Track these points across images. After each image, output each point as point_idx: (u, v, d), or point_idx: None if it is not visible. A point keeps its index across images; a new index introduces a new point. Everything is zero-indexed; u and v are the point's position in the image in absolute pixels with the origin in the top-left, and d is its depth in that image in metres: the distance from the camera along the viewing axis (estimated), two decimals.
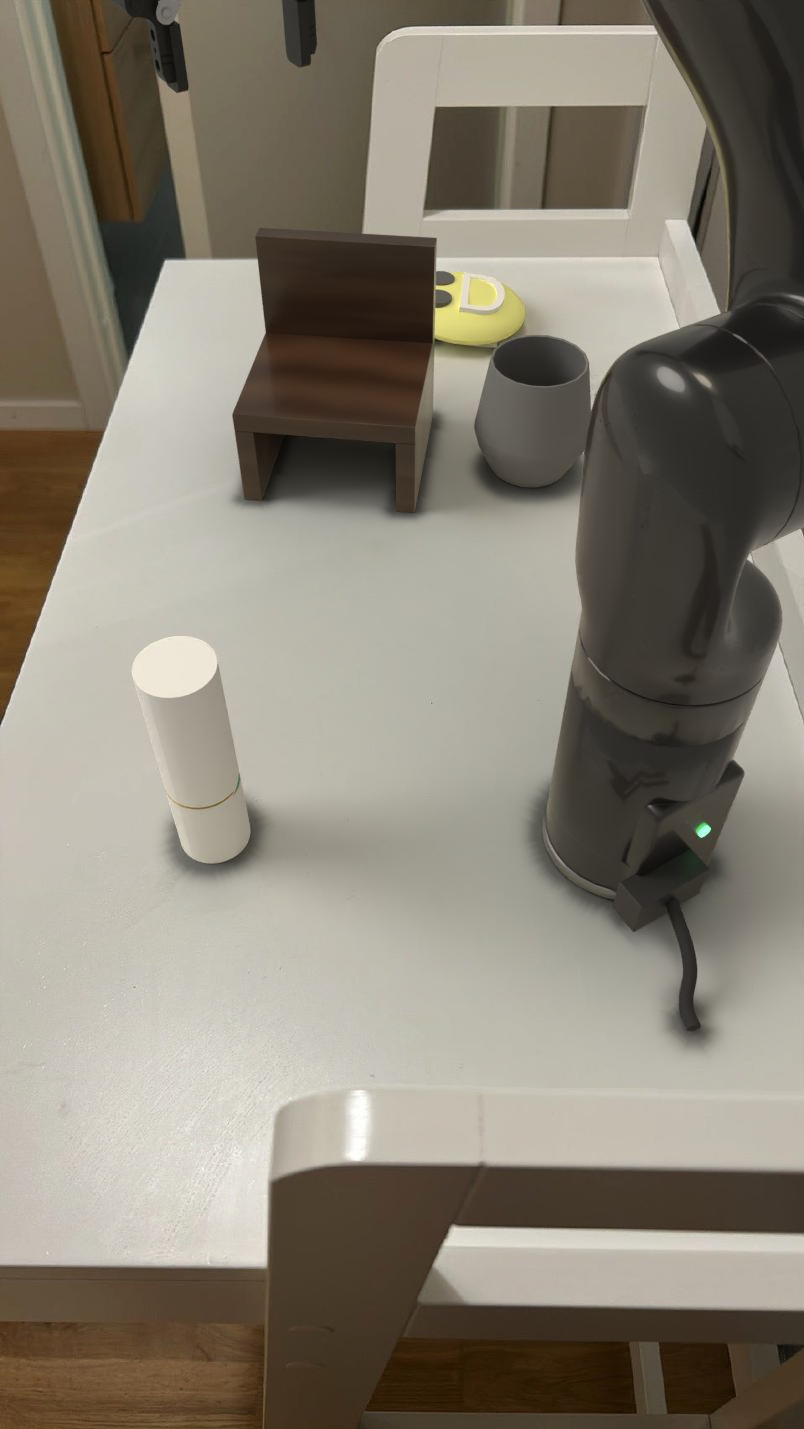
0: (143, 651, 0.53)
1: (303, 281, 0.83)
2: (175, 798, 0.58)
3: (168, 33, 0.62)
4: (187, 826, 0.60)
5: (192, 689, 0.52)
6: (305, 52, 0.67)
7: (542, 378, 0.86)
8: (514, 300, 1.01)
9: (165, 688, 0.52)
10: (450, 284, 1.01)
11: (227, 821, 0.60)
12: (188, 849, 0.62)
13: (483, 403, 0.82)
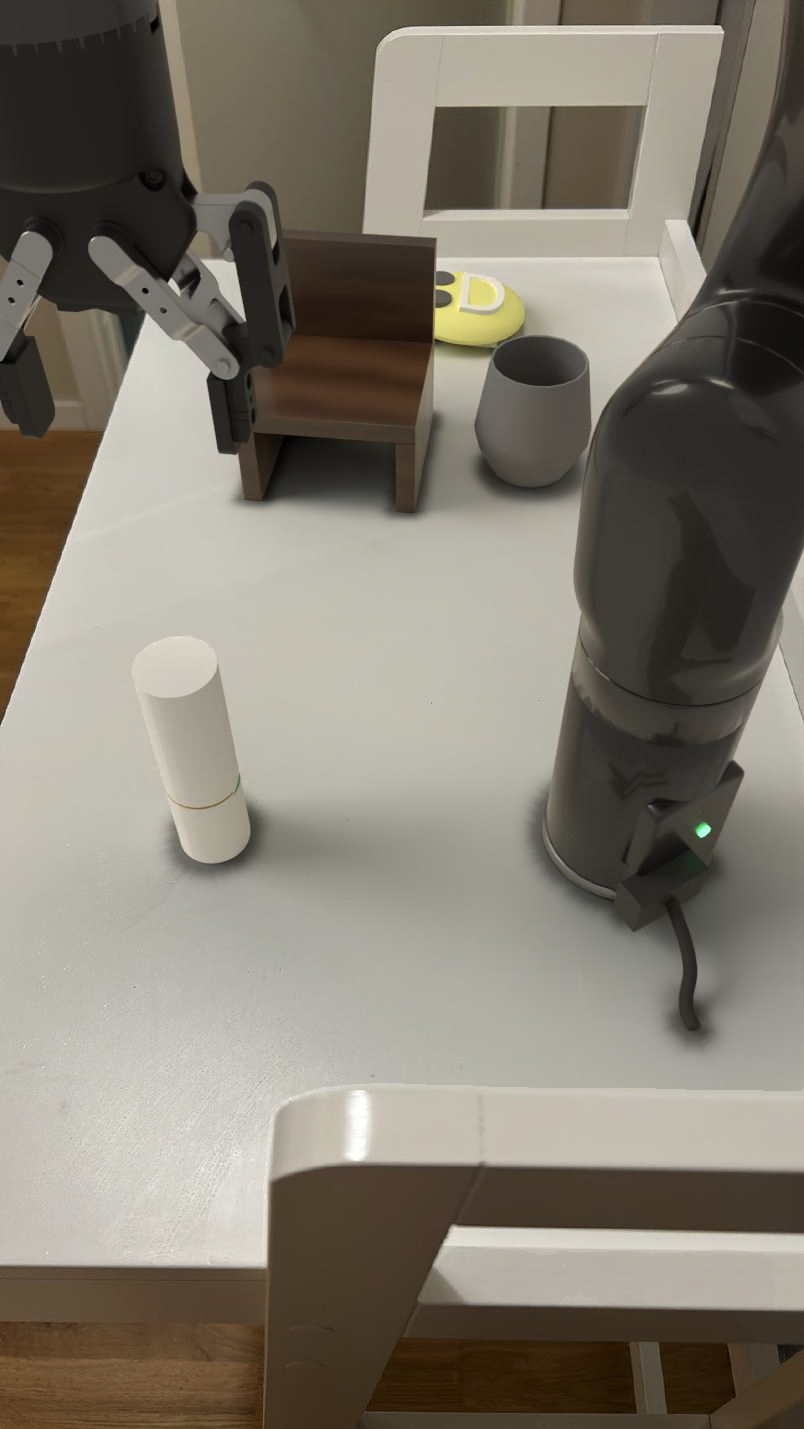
0: (143, 651, 0.53)
1: (303, 281, 0.83)
2: (175, 798, 0.58)
3: None
4: (187, 826, 0.60)
5: (192, 689, 0.52)
6: (223, 440, 0.43)
7: (542, 378, 0.86)
8: (514, 300, 1.01)
9: (165, 688, 0.52)
10: (450, 284, 1.01)
11: (227, 821, 0.60)
12: (188, 849, 0.62)
13: (483, 403, 0.82)
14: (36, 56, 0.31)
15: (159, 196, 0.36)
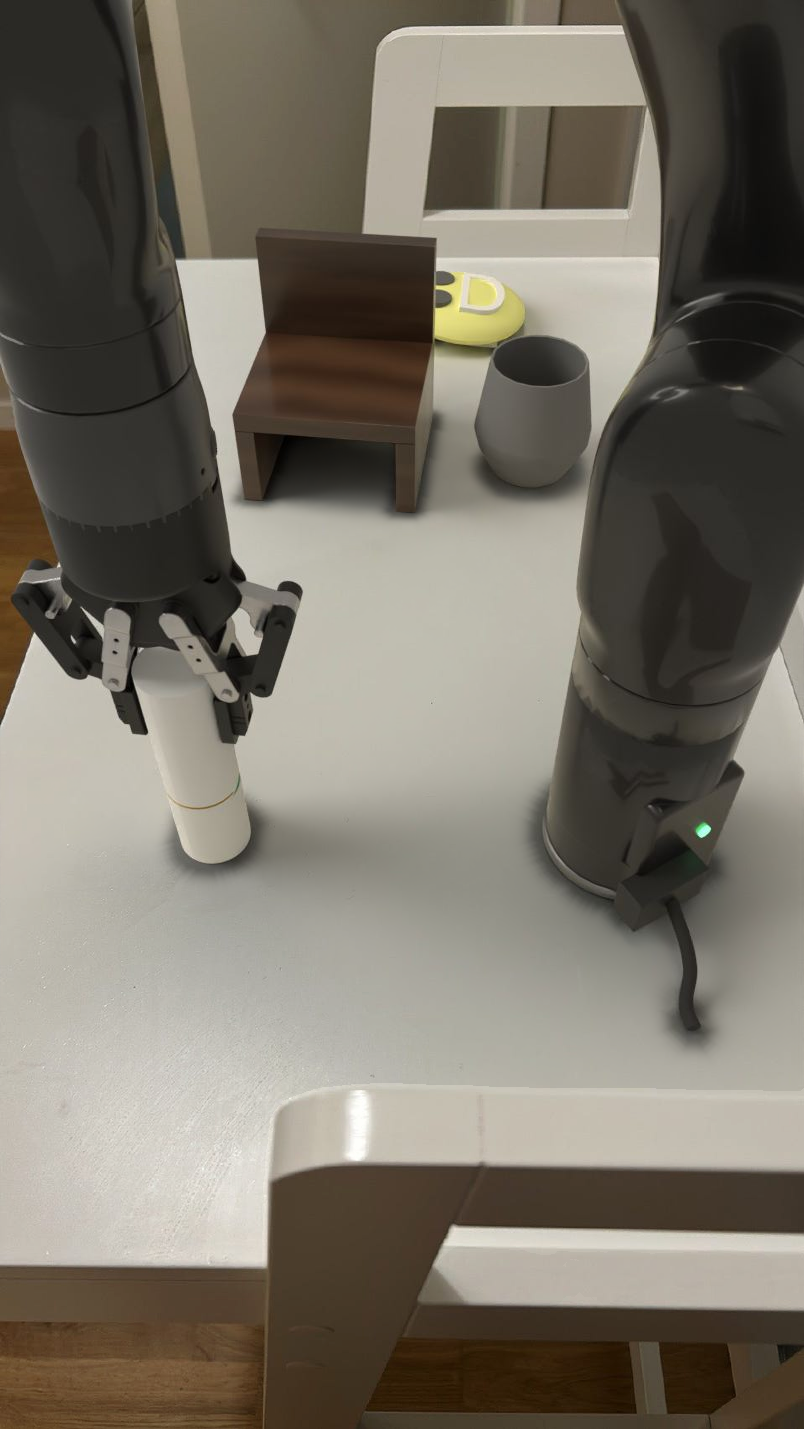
0: (143, 651, 0.53)
1: (303, 281, 0.83)
2: (175, 798, 0.58)
3: None
4: (187, 826, 0.60)
5: (192, 689, 0.52)
6: (226, 736, 0.55)
7: (542, 378, 0.86)
8: (514, 300, 1.01)
9: (165, 688, 0.52)
10: (450, 284, 1.01)
11: (227, 821, 0.60)
12: (188, 850, 0.62)
13: (483, 403, 0.82)
14: (130, 531, 0.41)
15: (214, 586, 0.47)
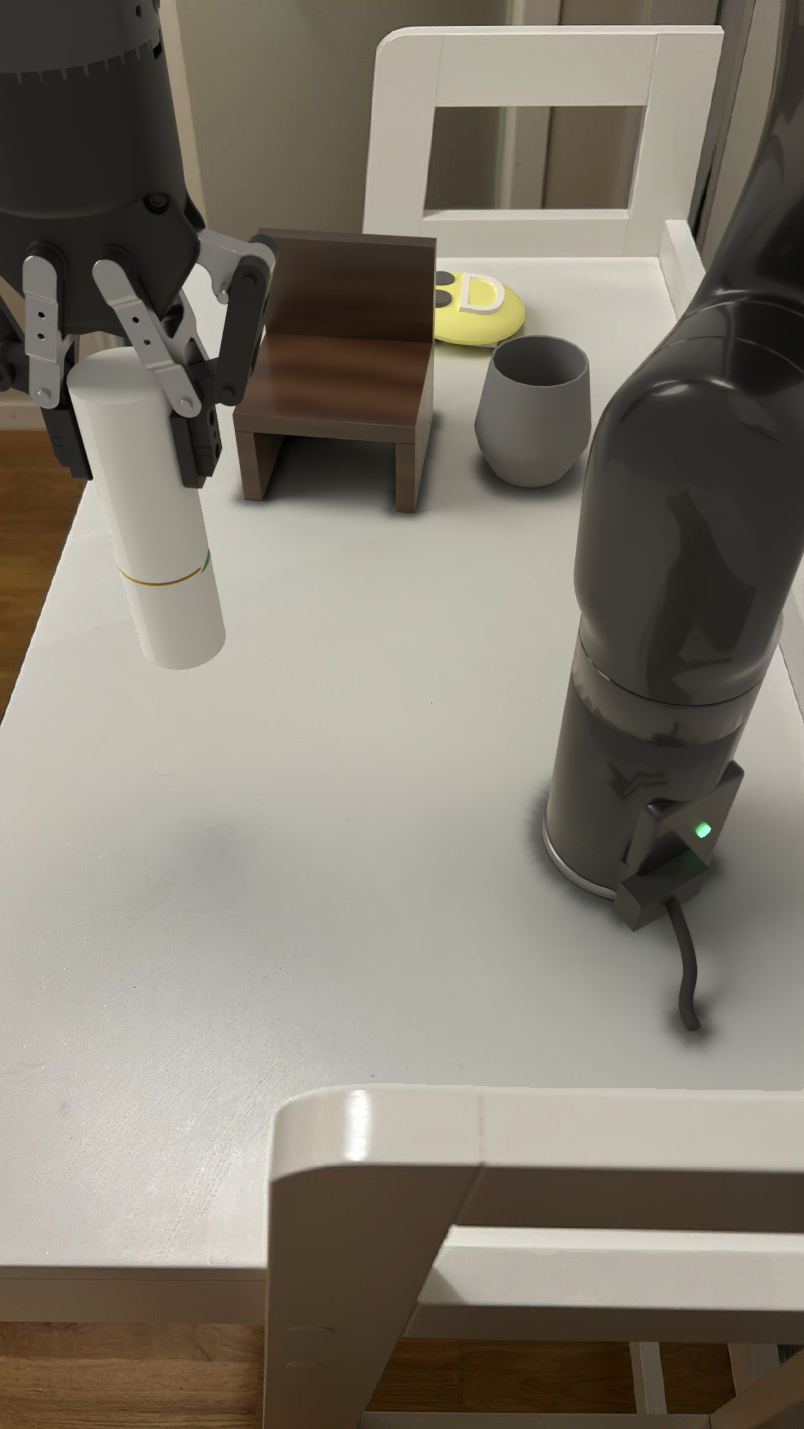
0: (82, 361, 0.43)
1: (303, 281, 0.83)
2: (130, 571, 0.47)
3: None
4: (146, 614, 0.49)
5: (142, 396, 0.41)
6: (188, 474, 0.44)
7: (542, 378, 0.86)
8: (514, 300, 1.01)
9: (108, 395, 0.41)
10: (450, 284, 1.01)
11: (195, 608, 0.49)
12: (149, 652, 0.52)
13: (483, 403, 0.82)
14: (40, 83, 0.31)
15: (163, 219, 0.36)
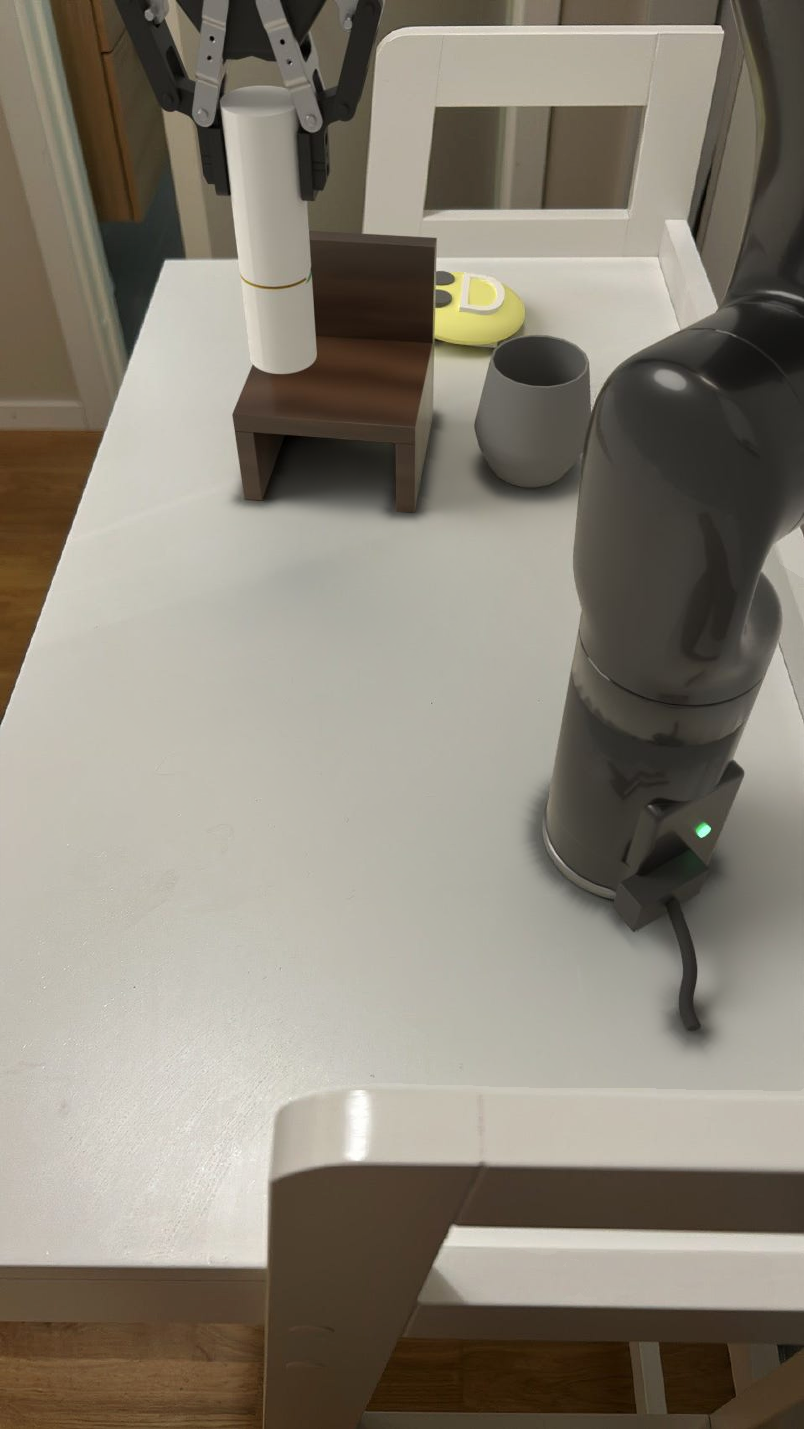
0: (229, 93, 0.56)
1: None
2: (252, 277, 0.61)
3: None
4: (261, 318, 0.63)
5: (279, 112, 0.55)
6: (306, 187, 0.58)
7: (542, 378, 0.86)
8: (514, 300, 1.01)
9: (253, 111, 0.55)
10: (450, 284, 1.01)
11: (299, 315, 0.63)
12: (259, 359, 0.66)
13: (483, 403, 0.82)
14: None
15: None
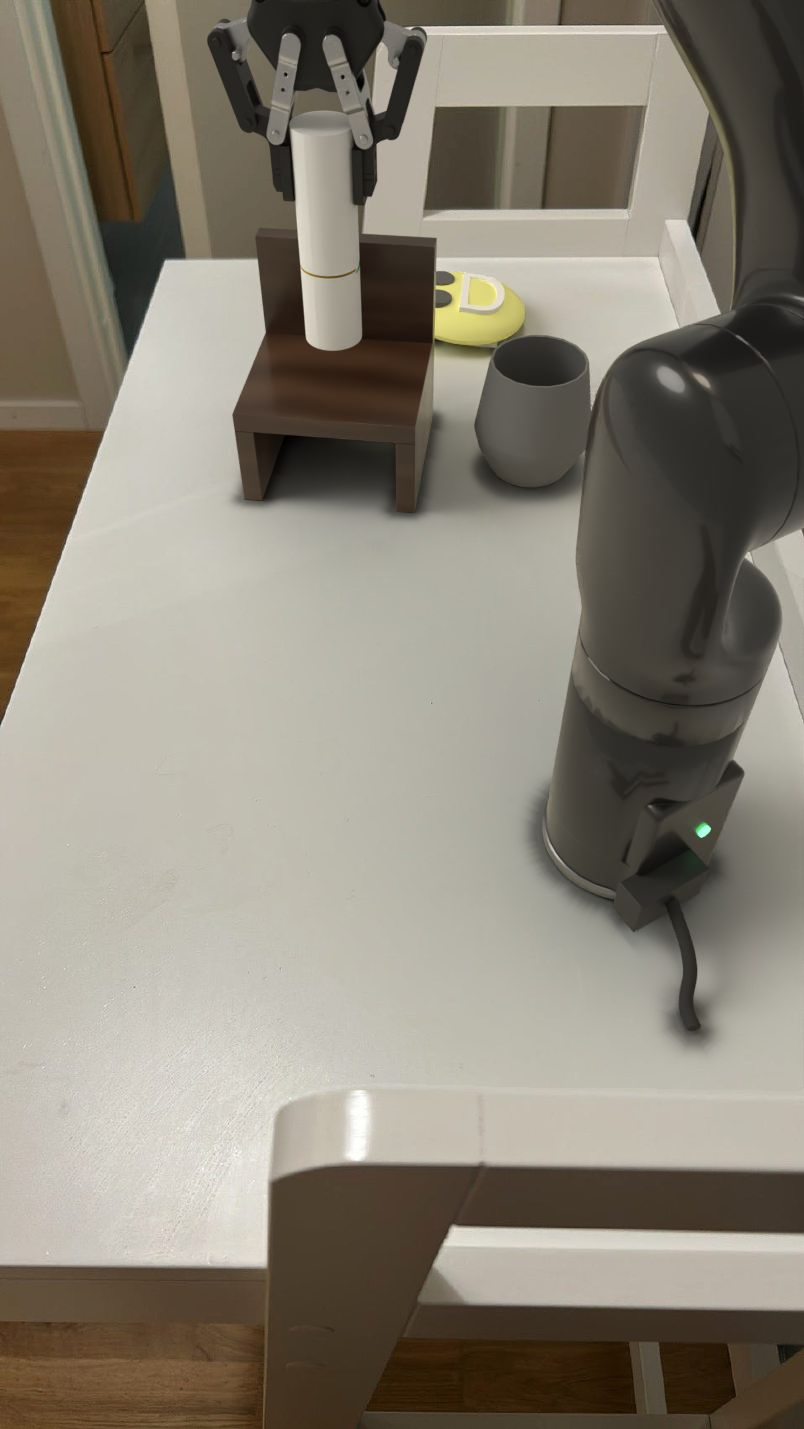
0: (296, 117, 0.69)
1: None
2: (311, 268, 0.74)
3: None
4: (317, 303, 0.76)
5: (337, 132, 0.67)
6: (358, 193, 0.70)
7: (542, 378, 0.86)
8: (514, 300, 1.01)
9: (317, 132, 0.67)
10: (450, 284, 1.01)
11: (349, 300, 0.76)
12: (314, 338, 0.78)
13: (483, 403, 0.82)
14: None
15: (366, 10, 0.62)
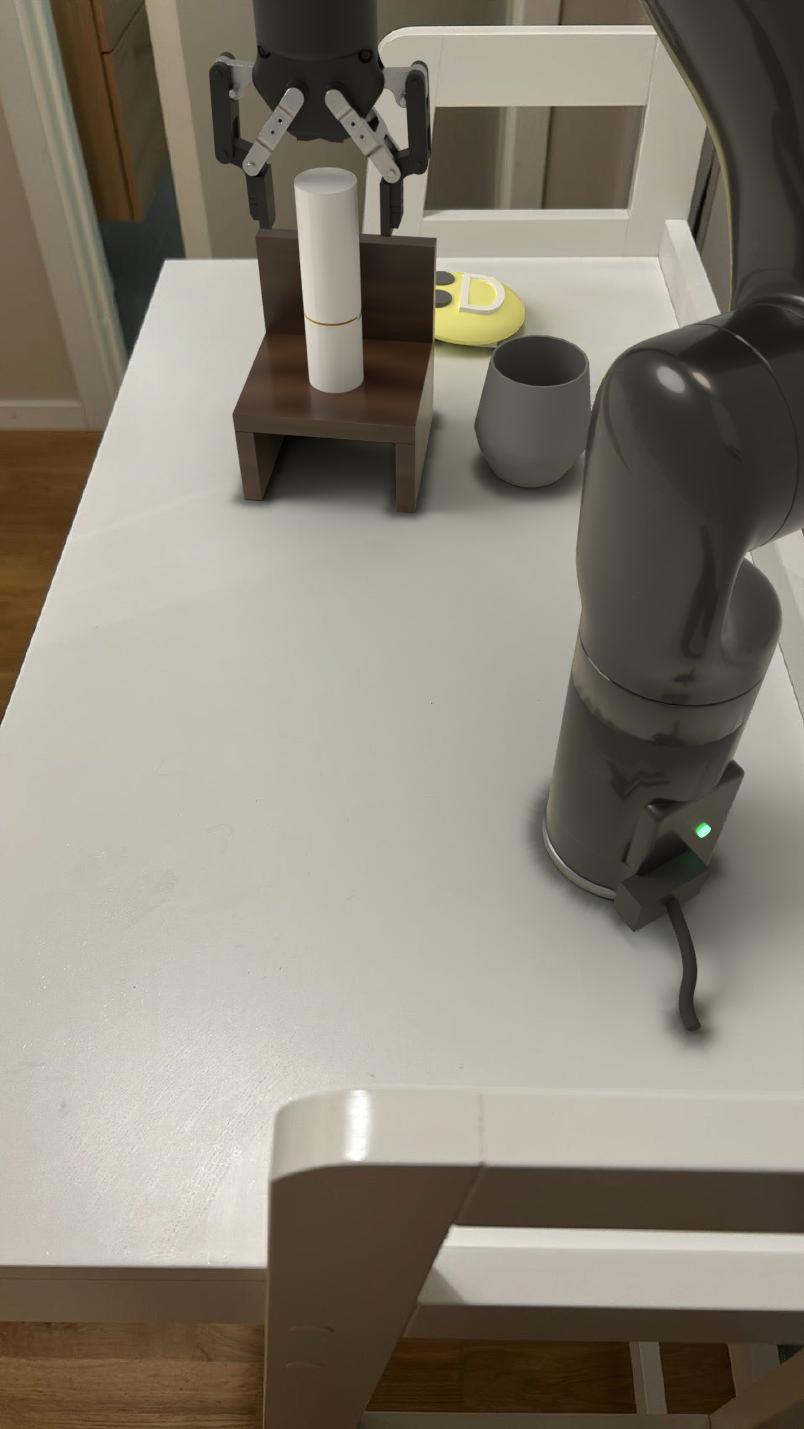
0: (300, 174, 0.72)
1: None
2: (315, 316, 0.77)
3: None
4: (321, 348, 0.78)
5: (340, 190, 0.70)
6: (384, 226, 0.72)
7: (542, 378, 0.86)
8: (514, 300, 1.01)
9: (321, 190, 0.70)
10: (450, 284, 1.01)
11: (351, 346, 0.79)
12: (317, 381, 0.81)
13: (483, 403, 0.82)
14: None
15: (367, 66, 0.65)
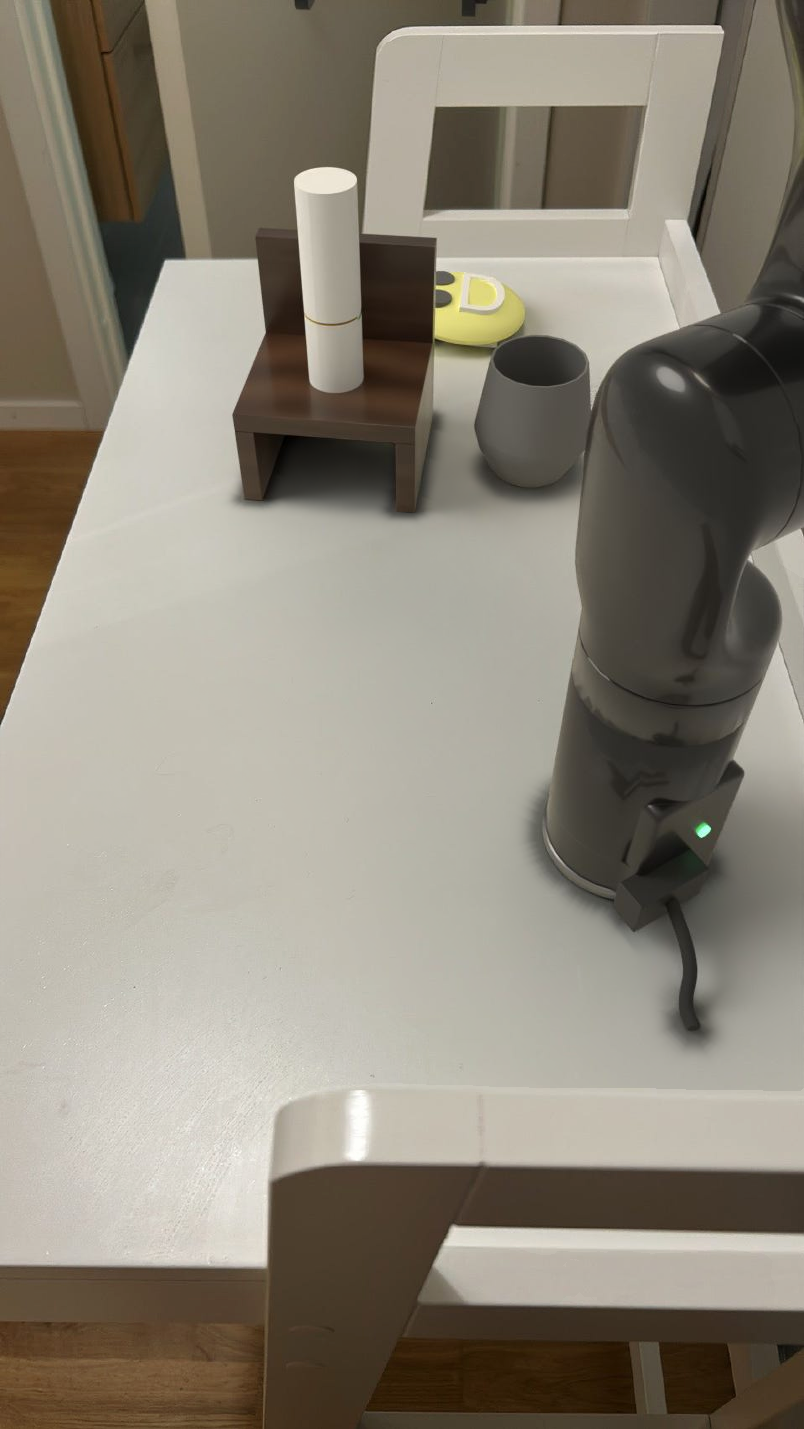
0: (300, 174, 0.72)
1: None
2: (315, 316, 0.77)
3: None
4: (321, 348, 0.78)
5: (340, 190, 0.70)
6: None
7: (542, 378, 0.86)
8: (514, 300, 1.01)
9: (321, 189, 0.70)
10: (450, 284, 1.01)
11: (351, 346, 0.79)
12: (317, 381, 0.81)
13: (483, 403, 0.82)
14: None
15: None
